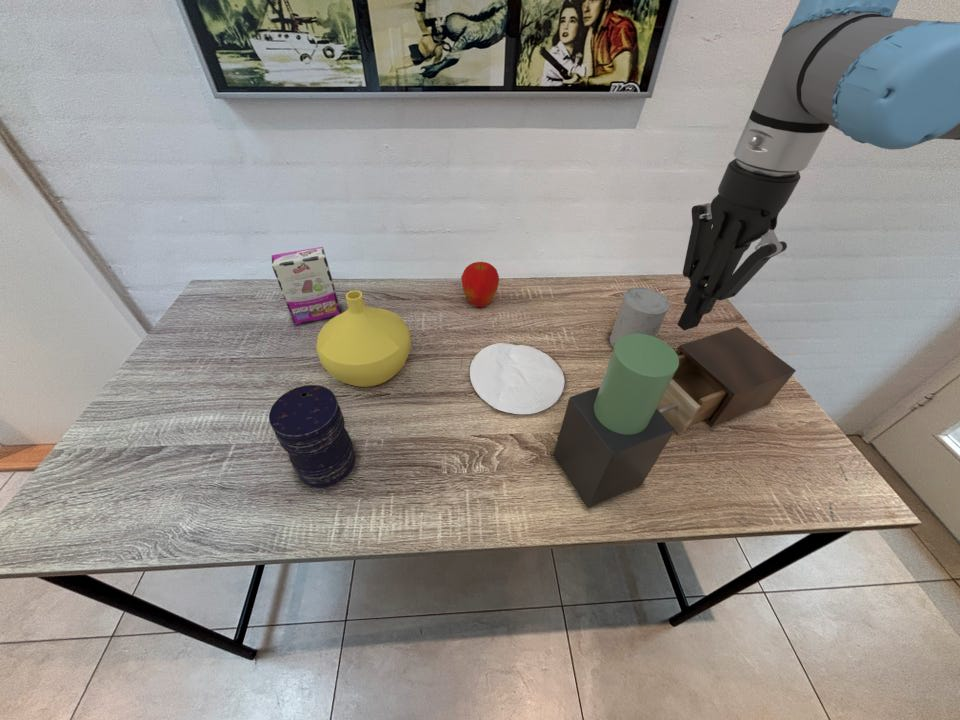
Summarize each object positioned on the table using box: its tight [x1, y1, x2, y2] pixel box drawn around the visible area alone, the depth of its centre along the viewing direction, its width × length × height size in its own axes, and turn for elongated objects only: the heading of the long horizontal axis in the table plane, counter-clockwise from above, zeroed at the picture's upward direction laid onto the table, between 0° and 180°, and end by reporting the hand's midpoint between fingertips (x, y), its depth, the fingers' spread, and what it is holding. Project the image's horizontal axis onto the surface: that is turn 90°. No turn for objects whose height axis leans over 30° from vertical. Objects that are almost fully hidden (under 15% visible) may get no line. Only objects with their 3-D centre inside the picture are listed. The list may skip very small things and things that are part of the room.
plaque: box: [469, 342, 565, 415], centre depth 87 cm, size 20×20×2 cm
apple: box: [460, 261, 500, 308], centre depth 101 cm, size 9×9×12 cm
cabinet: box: [675, 326, 797, 428], centre depth 82 cm, size 16×14×10 cm
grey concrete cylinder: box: [609, 286, 671, 349], centre depth 92 cm, size 10×10×12 cm
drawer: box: [656, 354, 729, 436], centre depth 79 cm, size 20×13×8 cm, turn 113°
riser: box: [553, 386, 676, 509], centre depth 66 cm, size 11×11×16 cm
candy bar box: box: [271, 246, 342, 326], centre depth 94 cm, size 11×5×16 cm, turn 112°
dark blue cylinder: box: [268, 384, 357, 490], centre depth 66 cm, size 10×10×15 cm
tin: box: [594, 334, 679, 435], centre depth 56 cm, size 8×8×12 cm
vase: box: [315, 290, 412, 388], centre depth 81 cm, size 18×18×19 cm
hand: (687, 325), depth 63 cm, fingers closed
